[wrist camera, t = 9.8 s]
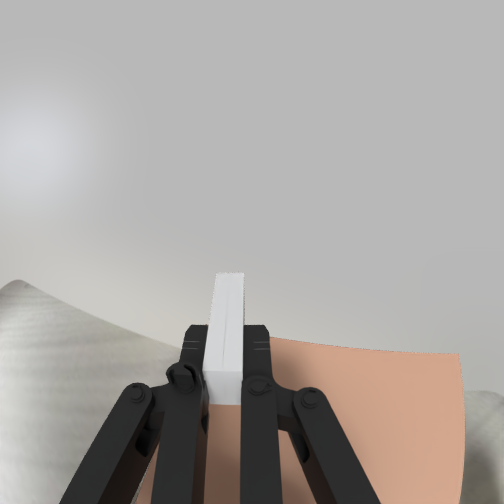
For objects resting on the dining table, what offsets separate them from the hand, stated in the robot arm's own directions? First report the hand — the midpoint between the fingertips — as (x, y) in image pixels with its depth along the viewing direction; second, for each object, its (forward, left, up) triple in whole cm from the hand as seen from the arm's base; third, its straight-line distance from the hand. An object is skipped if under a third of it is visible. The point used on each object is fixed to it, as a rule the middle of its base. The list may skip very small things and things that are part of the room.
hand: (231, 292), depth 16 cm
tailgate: (+7, -15, -7) cm, 18 cm away
